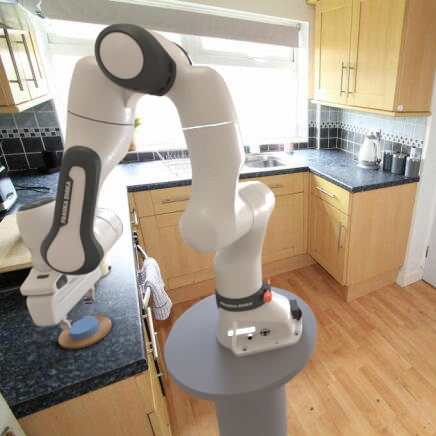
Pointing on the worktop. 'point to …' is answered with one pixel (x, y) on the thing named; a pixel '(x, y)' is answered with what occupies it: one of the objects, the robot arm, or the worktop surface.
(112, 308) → the worktop surface
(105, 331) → the trivet
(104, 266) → the jam jar
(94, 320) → the jar lid
